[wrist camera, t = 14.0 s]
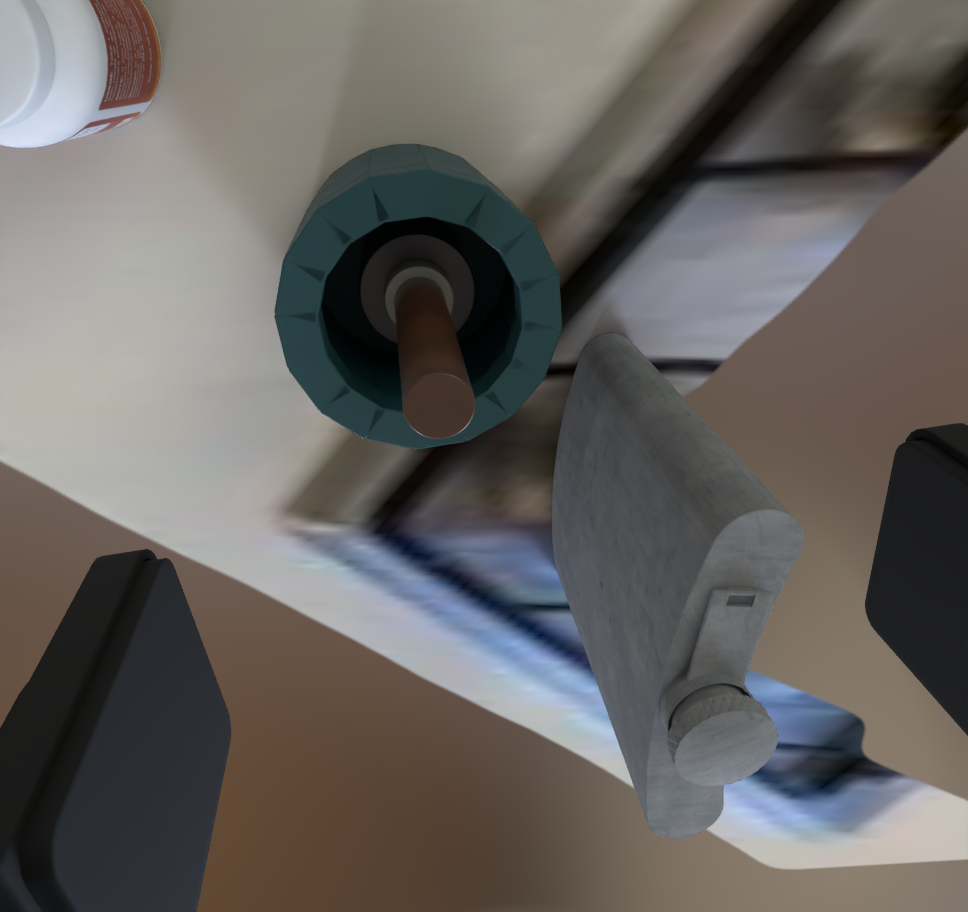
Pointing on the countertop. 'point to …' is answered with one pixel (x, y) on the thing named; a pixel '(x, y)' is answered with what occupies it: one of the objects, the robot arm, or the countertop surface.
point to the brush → (422, 318)
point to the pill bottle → (74, 68)
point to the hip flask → (667, 581)
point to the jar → (370, 357)
